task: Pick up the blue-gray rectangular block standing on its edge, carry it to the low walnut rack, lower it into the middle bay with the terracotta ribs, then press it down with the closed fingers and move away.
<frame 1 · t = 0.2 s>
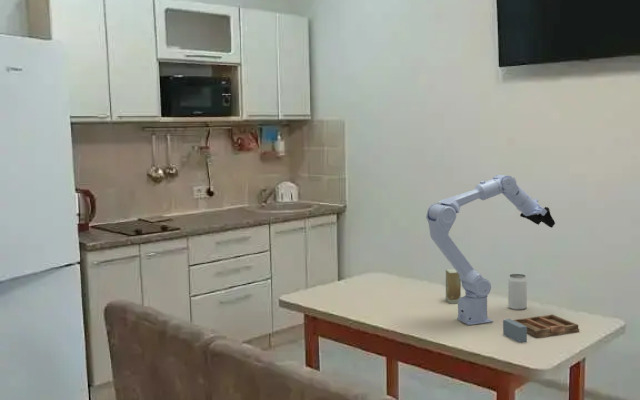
hand: (546, 223, 231), 32 cm above the table, tool tilted 50°, fingers open, 7 cm apart
skincare box: (453, 302, 252), on the table
rack: (544, 328, 215), on the table
blue-gray rectangular block: (514, 338, 207), on the table
can: (517, 308, 241), on the table
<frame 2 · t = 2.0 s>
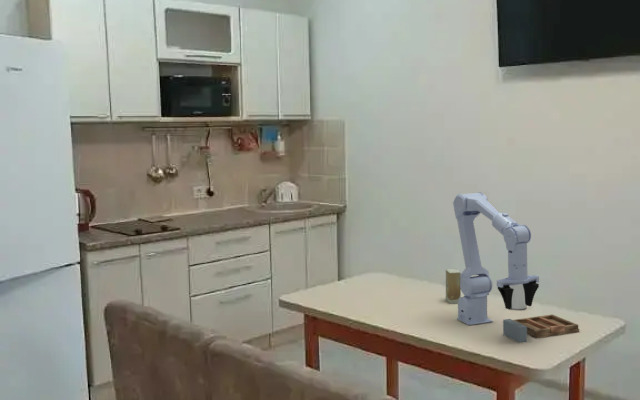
hand: (518, 307, 206), 10 cm above the table, tool pointing down, fingers open, 7 cm apart
nothing on the table moved.
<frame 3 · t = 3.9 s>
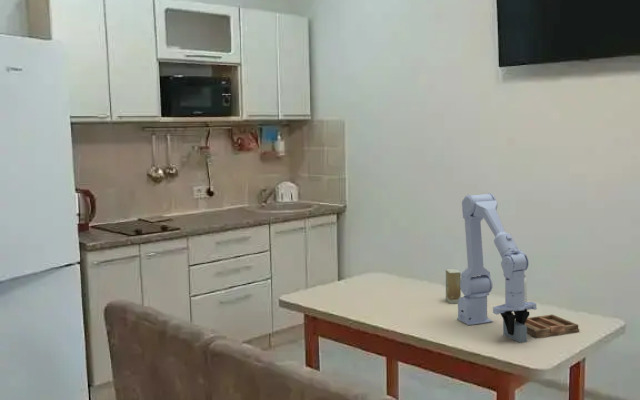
hand: (514, 333, 207), 1 cm above the table, tool pointing down, fingers closed on blue-gray rectangular block, 2 cm apart
blue-gray rectangular block: (514, 338, 207), on the table, touching gripper
everything else where it was.
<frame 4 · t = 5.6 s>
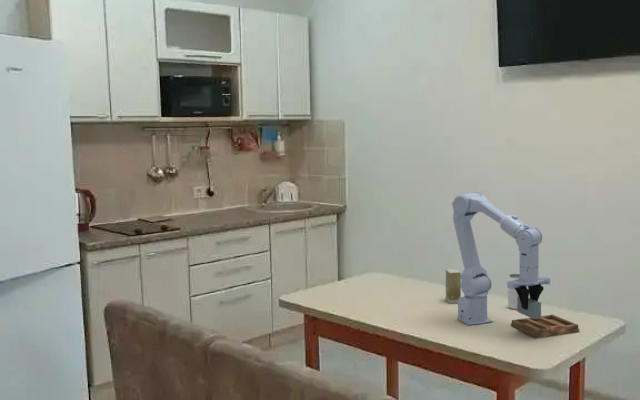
hand: (528, 308, 210), 8 cm above the table, tool pointing down, fingers closed on blue-gray rectangular block, 2 cm apart
blue-gray rectangular block: (528, 314, 210), point 6 cm above the table, touching gripper
everything else where it was.
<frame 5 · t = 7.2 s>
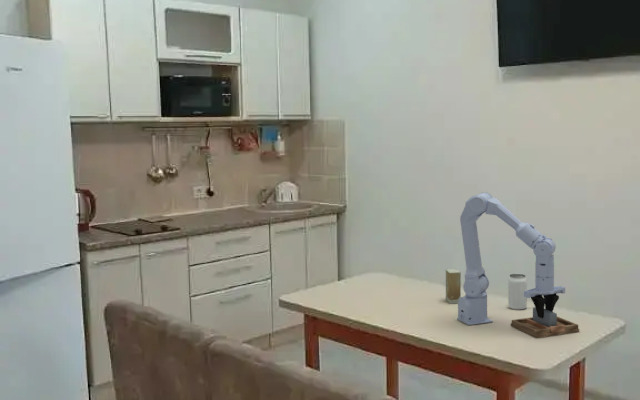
hand: (544, 316, 214), 4 cm above the table, tool pointing down, fingers closed on blue-gray rectangular block, 2 cm apart
blue-gray rectangular block: (544, 325, 215), point 1 cm above the table, touching gripper
everything else where it was.
when the fingers open (3 cm above the table, at t = 7.8 s): blue-gray rectangular block stays where it is, resting on rack.
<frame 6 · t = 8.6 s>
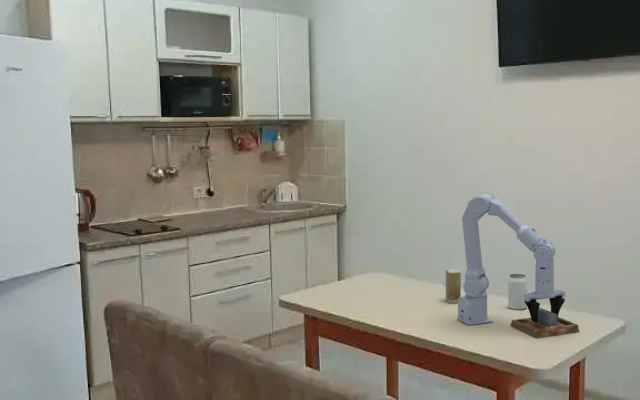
hand: (544, 320, 214), 3 cm above the table, tool pointing down, fingers open, 7 cm apart
blue-gray rectangular block: (544, 326, 215), point 1 cm above the table, touching rack
everything else where it was.
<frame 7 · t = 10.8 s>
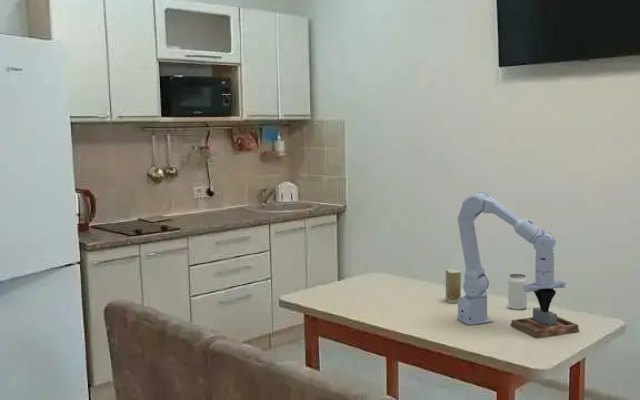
hand: (544, 311, 214), 6 cm above the table, tool pointing down, fingers closed, pressing on blue-gray rectangular block
blue-gray rectangular block: (544, 326, 215), point 1 cm above the table, touching gripper, rack
everything else where it was.
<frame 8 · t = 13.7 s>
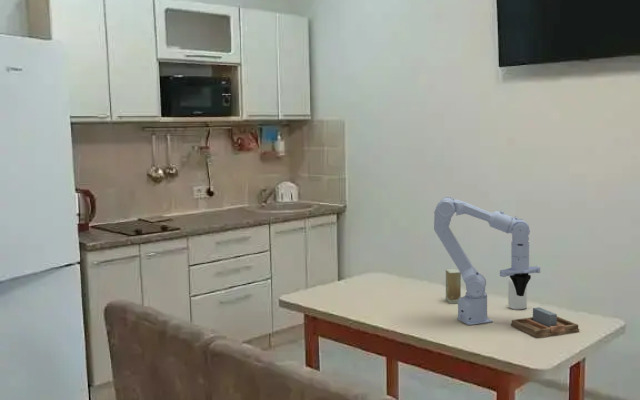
hand: (520, 295, 221), 9 cm above the table, tool pointing down, fingers closed
blue-gray rectangular block: (544, 326, 215), point 1 cm above the table, touching rack
everything else where it was.
at the end: blue-gray rectangular block 0.0 cm off-centre on the rack, point 1.0 cm above the rack's base; blue-gray rectangular block tilted 0°; the gripper is holding nothing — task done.
